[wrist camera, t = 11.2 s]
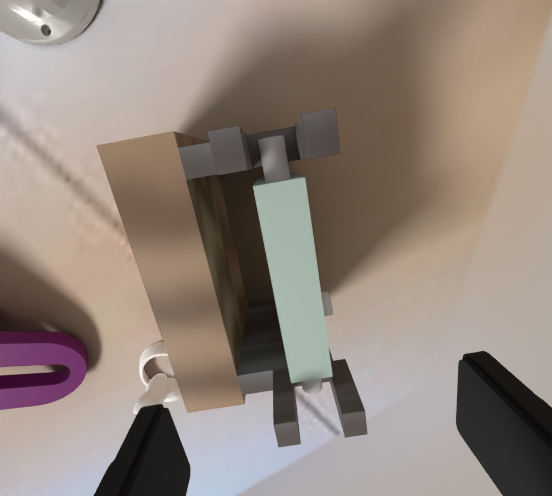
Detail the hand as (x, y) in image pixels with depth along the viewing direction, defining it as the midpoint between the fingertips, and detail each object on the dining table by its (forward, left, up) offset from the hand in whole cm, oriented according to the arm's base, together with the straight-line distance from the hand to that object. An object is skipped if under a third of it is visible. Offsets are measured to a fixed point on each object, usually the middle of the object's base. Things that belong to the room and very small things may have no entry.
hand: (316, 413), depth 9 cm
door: (0, 0, -19) cm, 19 cm away
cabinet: (0, -4, -24) cm, 24 cm away
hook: (+15, -18, -24) cm, 34 cm away
